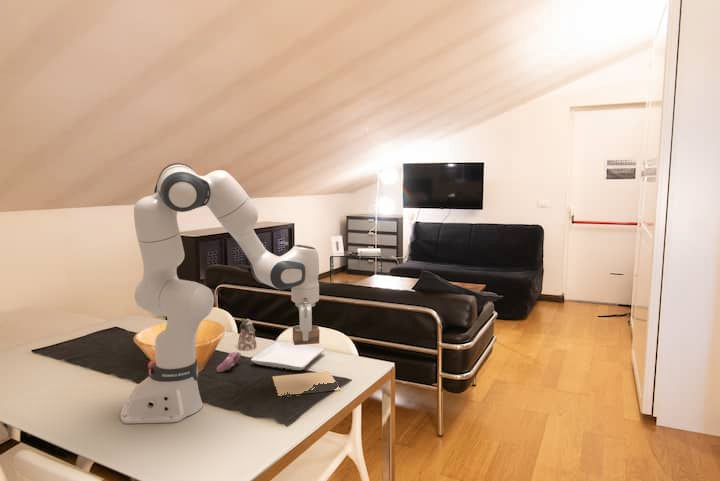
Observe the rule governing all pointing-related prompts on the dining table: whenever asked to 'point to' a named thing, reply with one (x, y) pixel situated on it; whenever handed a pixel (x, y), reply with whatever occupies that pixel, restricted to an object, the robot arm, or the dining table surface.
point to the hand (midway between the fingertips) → (305, 336)
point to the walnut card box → (312, 336)
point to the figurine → (247, 336)
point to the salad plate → (287, 355)
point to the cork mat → (301, 382)
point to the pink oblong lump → (229, 362)
